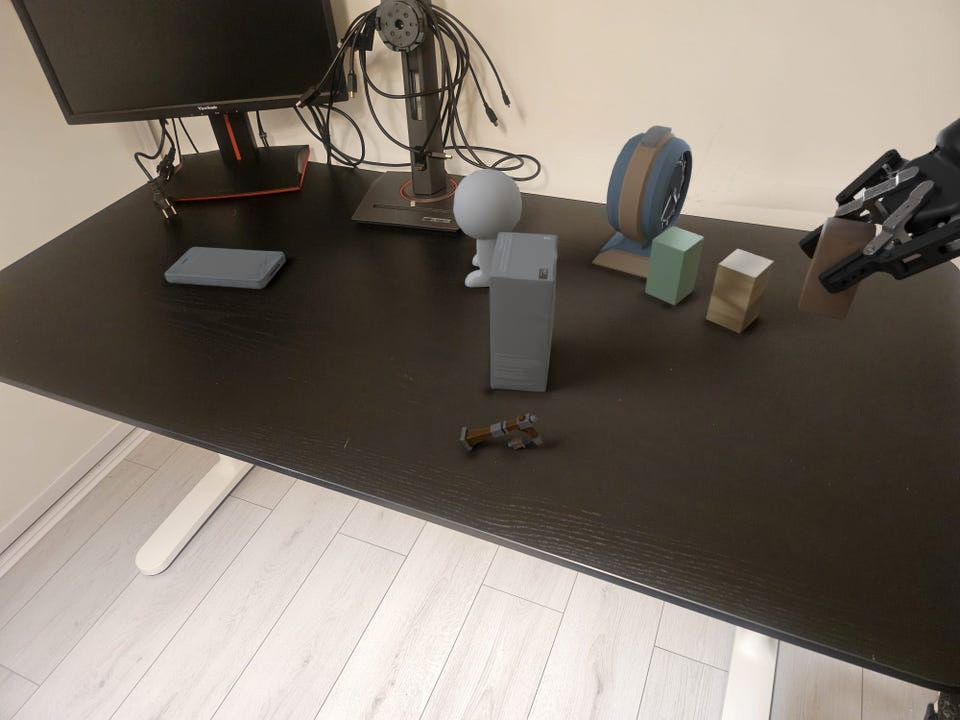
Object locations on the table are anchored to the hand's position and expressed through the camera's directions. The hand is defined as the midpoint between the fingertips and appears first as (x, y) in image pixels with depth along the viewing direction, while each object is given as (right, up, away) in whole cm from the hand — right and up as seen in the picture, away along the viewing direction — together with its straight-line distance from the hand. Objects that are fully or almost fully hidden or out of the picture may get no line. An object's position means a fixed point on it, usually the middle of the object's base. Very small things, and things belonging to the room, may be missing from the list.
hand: (814, 268), depth 55 cm
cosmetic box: (-25, -9, +17) cm, 31 cm away
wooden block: (+2, -3, +3) cm, 5 cm away
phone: (-68, +5, +37) cm, 77 cm away
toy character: (-28, +4, +32) cm, 43 cm away
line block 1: (-5, +1, +26) cm, 27 cm away
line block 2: (+1, -3, +21) cm, 21 cm away
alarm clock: (-6, +7, +34) cm, 36 cm away
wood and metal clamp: (-28, -17, +8) cm, 33 cm away
